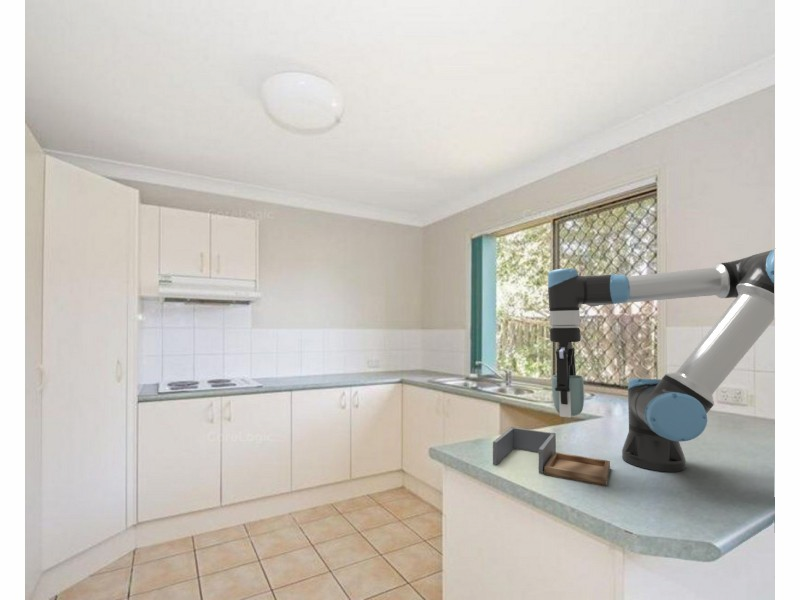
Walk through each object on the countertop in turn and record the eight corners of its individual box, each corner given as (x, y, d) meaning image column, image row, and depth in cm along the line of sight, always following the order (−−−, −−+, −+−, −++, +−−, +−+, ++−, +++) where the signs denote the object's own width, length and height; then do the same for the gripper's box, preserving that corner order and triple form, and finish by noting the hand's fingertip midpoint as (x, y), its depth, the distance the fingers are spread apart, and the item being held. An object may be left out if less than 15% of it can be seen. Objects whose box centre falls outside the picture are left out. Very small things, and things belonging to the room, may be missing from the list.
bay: (555, 454, 122) (555, 433, 122) (542, 473, 106) (542, 449, 106) (511, 446, 129) (511, 427, 129) (492, 464, 113) (492, 441, 113)
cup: (588, 418, 105) (586, 378, 106) (555, 417, 107) (553, 378, 108) (581, 411, 113) (579, 374, 114) (551, 411, 115) (549, 374, 115)
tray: (609, 468, 111) (609, 460, 111) (606, 486, 98) (605, 477, 99) (554, 459, 118) (554, 452, 118) (544, 474, 105) (544, 466, 106)
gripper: (557, 326, 122) (560, 405, 121) (541, 327, 104) (545, 420, 103) (585, 326, 118) (588, 407, 117) (573, 327, 101) (577, 423, 99)
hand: (568, 413), depth 110 cm, fingers closed on cup, 8 cm apart
